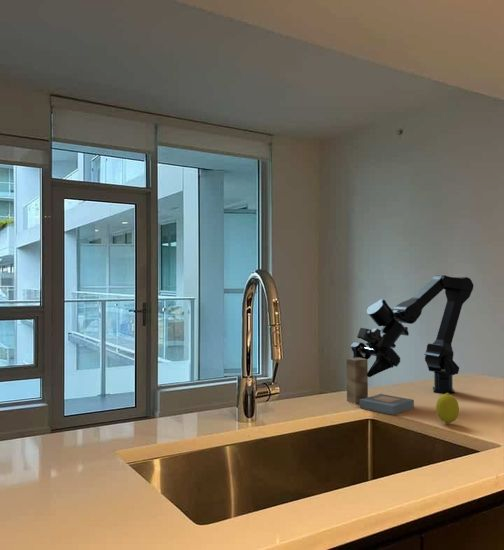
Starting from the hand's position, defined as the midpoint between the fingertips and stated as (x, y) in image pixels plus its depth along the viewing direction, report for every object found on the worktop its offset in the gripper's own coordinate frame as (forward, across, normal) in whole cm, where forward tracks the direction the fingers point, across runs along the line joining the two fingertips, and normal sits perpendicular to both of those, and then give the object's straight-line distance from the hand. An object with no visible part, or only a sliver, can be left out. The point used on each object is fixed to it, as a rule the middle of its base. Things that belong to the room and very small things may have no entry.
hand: (358, 373), depth 158 cm
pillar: (+6, 0, +6) cm, 8 cm away
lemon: (+2, +31, +10) cm, 32 cm away
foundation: (+4, +11, +8) cm, 14 cm away
